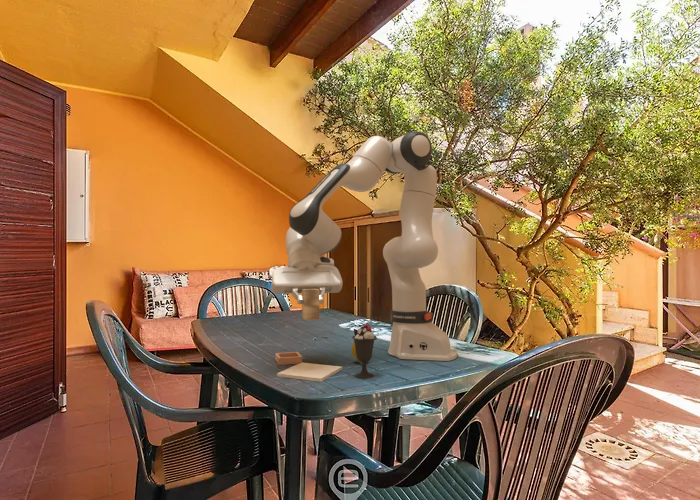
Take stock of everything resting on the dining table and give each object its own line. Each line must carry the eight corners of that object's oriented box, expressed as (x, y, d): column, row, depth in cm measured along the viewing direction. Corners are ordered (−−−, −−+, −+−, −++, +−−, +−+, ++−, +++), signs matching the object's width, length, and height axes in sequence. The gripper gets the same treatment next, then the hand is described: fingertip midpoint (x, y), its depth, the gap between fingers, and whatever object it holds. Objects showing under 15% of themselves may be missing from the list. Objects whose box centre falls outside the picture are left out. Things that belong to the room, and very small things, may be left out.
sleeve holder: (298, 358, 130) (298, 351, 130) (302, 363, 123) (302, 356, 123) (275, 359, 128) (275, 353, 128) (278, 365, 121) (278, 358, 121)
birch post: (316, 317, 115) (316, 288, 115) (319, 319, 111) (319, 289, 112) (302, 318, 114) (302, 289, 114) (304, 320, 110) (304, 289, 110)
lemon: (369, 365, 120) (368, 337, 121) (350, 364, 121) (350, 337, 122) (371, 361, 126) (371, 334, 126) (354, 360, 127) (353, 334, 127)
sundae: (380, 377, 107) (380, 319, 108) (356, 380, 105) (355, 320, 106) (372, 371, 113) (372, 316, 114) (348, 373, 111) (348, 317, 112)
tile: (342, 369, 116) (342, 366, 116) (321, 381, 104) (321, 378, 104) (301, 365, 121) (301, 362, 121) (277, 376, 109) (277, 373, 109)
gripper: (269, 258, 118) (273, 295, 108) (338, 259, 124) (348, 294, 114) (267, 274, 122) (271, 311, 112) (334, 273, 128) (343, 308, 118)
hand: (310, 302), depth 113 cm, fingers closed on birch post, 4 cm apart
